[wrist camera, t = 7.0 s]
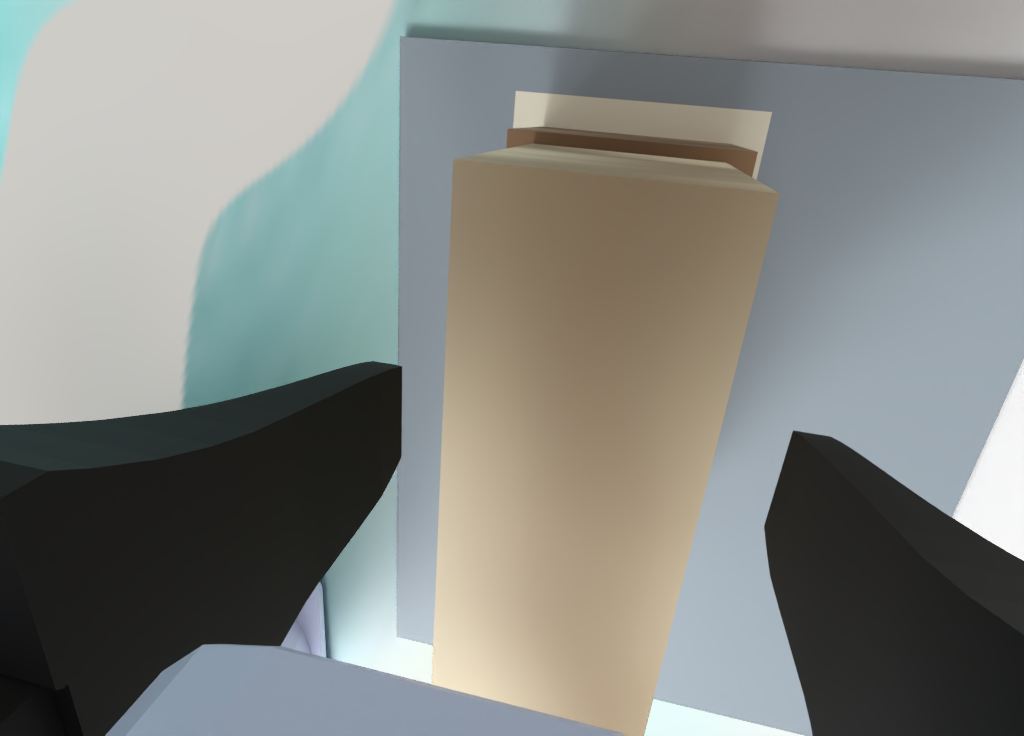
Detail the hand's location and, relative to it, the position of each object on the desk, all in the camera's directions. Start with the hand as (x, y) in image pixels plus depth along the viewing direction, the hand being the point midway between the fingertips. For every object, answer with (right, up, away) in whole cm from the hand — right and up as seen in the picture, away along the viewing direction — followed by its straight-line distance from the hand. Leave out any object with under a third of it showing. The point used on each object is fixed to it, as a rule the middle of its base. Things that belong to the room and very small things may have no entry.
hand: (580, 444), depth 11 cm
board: (+3, -1, +7) cm, 7 cm away
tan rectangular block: (0, +1, +2) cm, 2 cm away
